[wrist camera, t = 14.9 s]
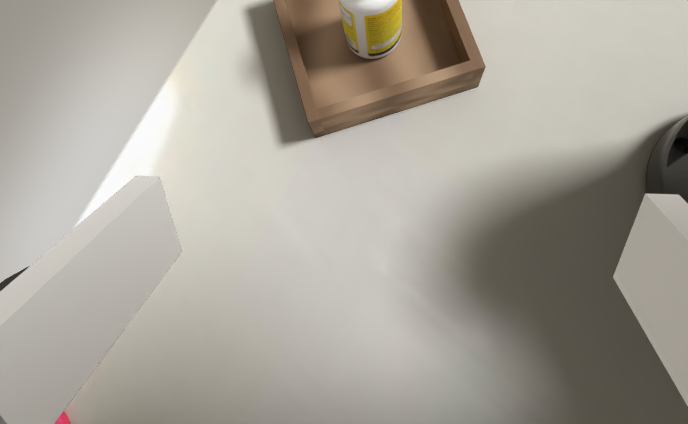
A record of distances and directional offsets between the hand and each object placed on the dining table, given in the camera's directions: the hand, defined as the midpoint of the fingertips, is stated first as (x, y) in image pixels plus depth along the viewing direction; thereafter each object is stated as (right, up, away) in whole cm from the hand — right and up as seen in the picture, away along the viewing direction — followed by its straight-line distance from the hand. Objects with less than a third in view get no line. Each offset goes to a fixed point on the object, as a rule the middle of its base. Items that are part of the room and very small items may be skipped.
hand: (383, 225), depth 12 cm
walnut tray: (+2, +17, +30) cm, 35 cm away
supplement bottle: (+2, +17, +30) cm, 34 cm away
